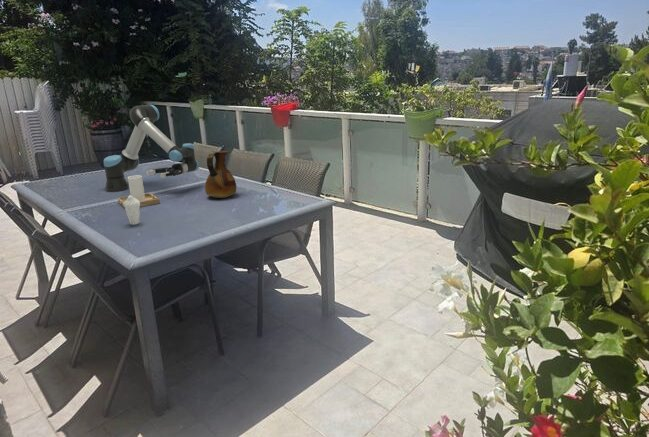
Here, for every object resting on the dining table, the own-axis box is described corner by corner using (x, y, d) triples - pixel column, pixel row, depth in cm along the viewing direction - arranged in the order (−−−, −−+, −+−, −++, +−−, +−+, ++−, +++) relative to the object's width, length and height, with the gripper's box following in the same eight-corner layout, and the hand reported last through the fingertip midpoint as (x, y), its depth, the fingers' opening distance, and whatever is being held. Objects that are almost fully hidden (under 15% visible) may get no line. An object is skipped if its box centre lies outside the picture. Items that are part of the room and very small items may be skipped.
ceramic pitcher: (243, 194, 301) (239, 149, 292) (224, 201, 284) (219, 154, 275) (219, 191, 309) (214, 147, 300) (199, 199, 292) (194, 152, 283)
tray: (118, 202, 288) (117, 198, 287) (150, 197, 299) (150, 192, 298) (126, 209, 273) (125, 204, 272) (159, 203, 284) (159, 198, 283)
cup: (140, 203, 281) (136, 178, 276) (128, 203, 283) (124, 178, 278) (148, 200, 289) (144, 175, 284) (136, 199, 290) (132, 175, 286)
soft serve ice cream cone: (129, 221, 250) (124, 193, 245) (145, 220, 251) (140, 192, 246) (124, 226, 242) (119, 197, 237) (140, 225, 243) (135, 196, 238)
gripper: (193, 176, 304) (167, 182, 286) (167, 172, 316) (141, 178, 299) (191, 165, 301) (166, 170, 284) (166, 161, 314) (140, 167, 296)
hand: (153, 174), depth 291 cm, fingers open, 13 cm apart
